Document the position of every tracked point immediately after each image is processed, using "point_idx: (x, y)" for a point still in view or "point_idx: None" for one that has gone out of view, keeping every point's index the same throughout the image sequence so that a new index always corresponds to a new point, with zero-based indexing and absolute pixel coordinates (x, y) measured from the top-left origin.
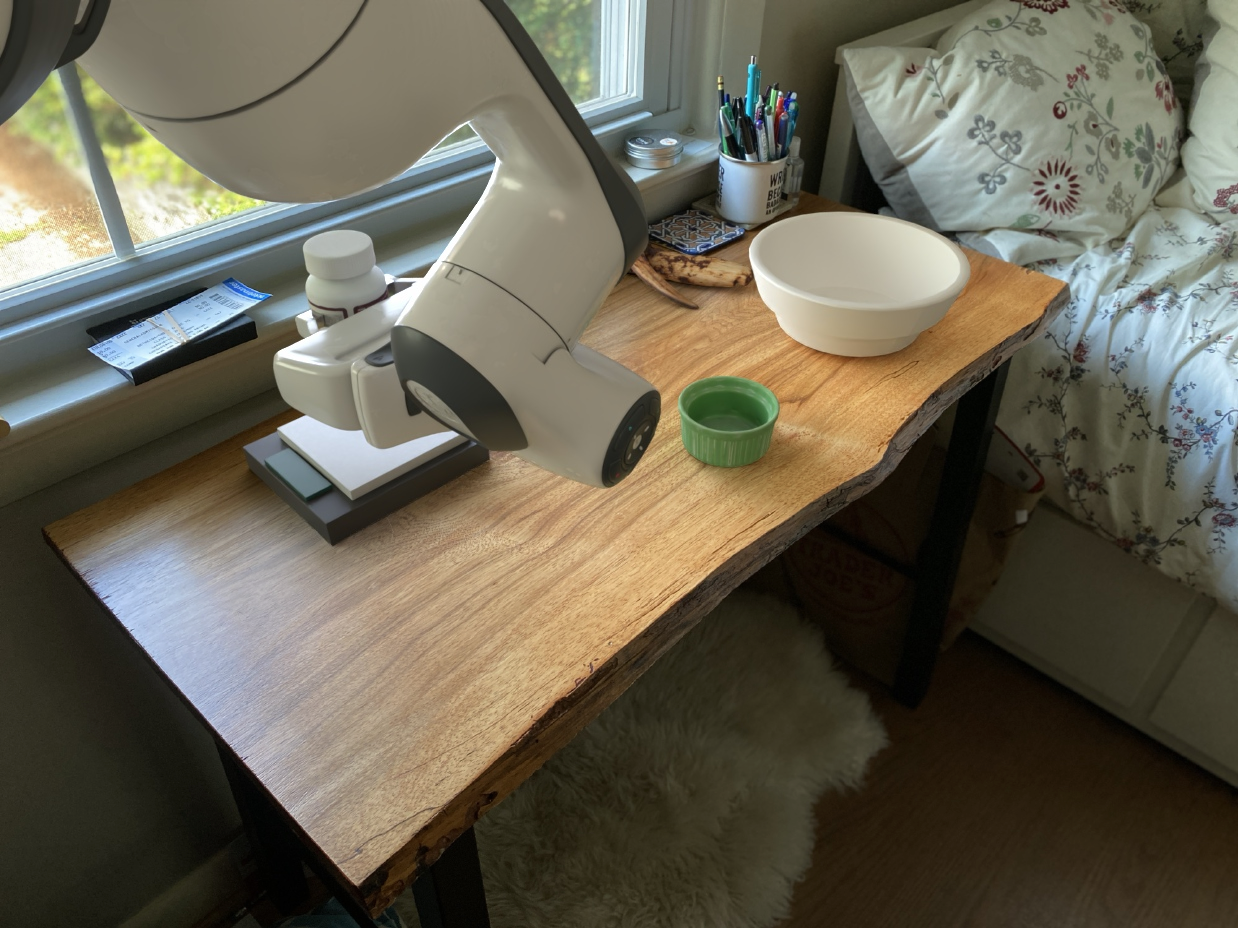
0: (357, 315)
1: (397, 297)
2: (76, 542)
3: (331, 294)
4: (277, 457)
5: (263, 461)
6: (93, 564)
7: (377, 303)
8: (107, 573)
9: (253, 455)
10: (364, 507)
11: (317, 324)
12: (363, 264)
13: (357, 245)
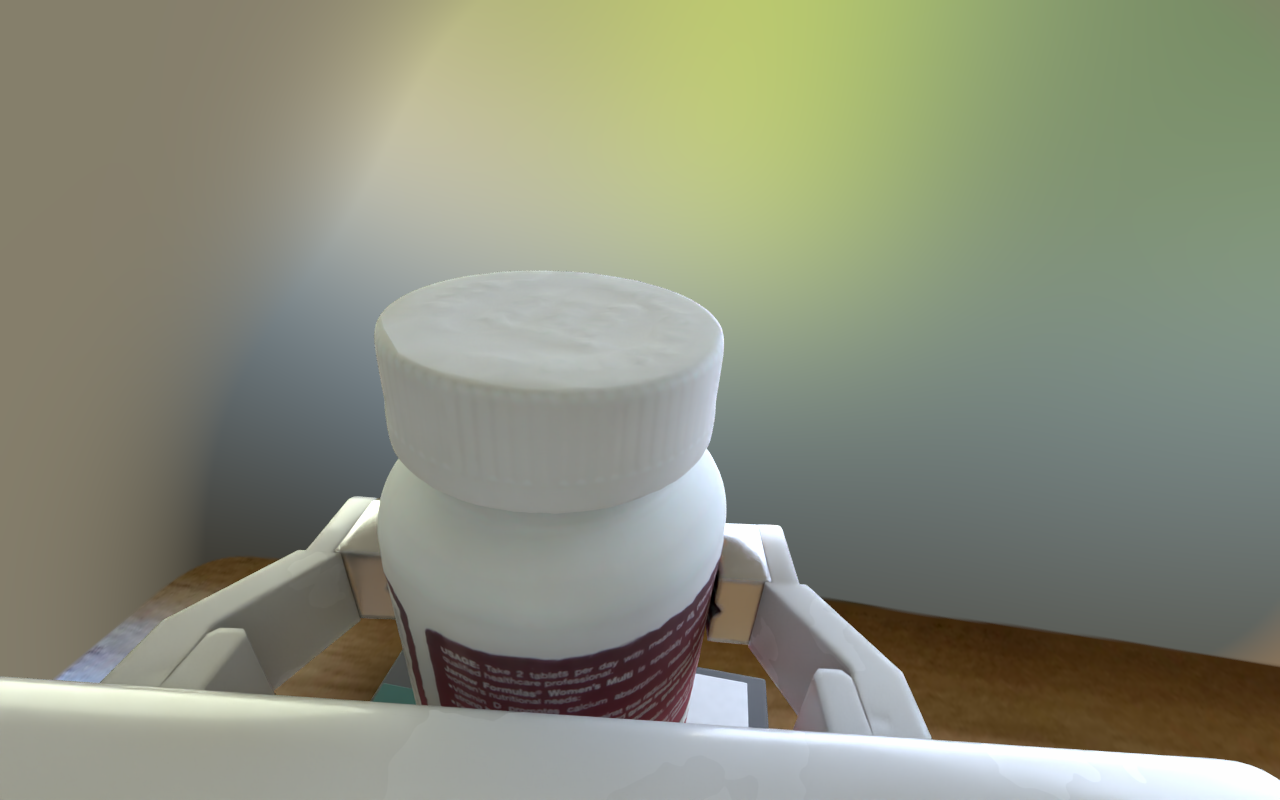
0: (270, 739)
1: (600, 784)
2: (185, 585)
3: (387, 509)
4: (398, 700)
5: (390, 681)
6: (117, 643)
7: (483, 719)
8: (83, 680)
9: (403, 651)
10: None
11: (354, 571)
12: (540, 468)
13: (600, 356)
